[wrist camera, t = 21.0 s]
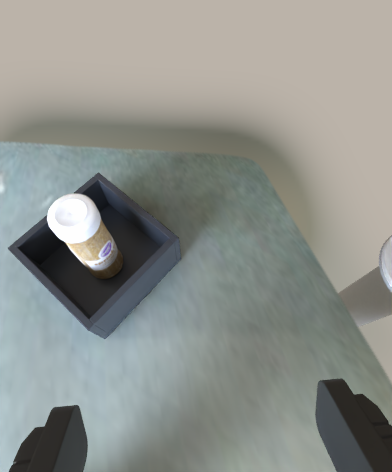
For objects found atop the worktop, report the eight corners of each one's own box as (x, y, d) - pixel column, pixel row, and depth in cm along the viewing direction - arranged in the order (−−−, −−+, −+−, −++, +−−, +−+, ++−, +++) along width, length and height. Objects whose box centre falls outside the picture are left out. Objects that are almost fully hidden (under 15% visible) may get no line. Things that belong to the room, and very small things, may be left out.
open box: (110, 200, 48) (98, 172, 41) (181, 258, 44) (178, 237, 38) (34, 268, 43) (7, 248, 37) (104, 339, 40) (88, 330, 33)
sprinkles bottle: (117, 283, 42) (85, 239, 29) (83, 275, 42) (37, 229, 30) (128, 250, 44) (102, 196, 31) (95, 243, 44) (57, 187, 32)
